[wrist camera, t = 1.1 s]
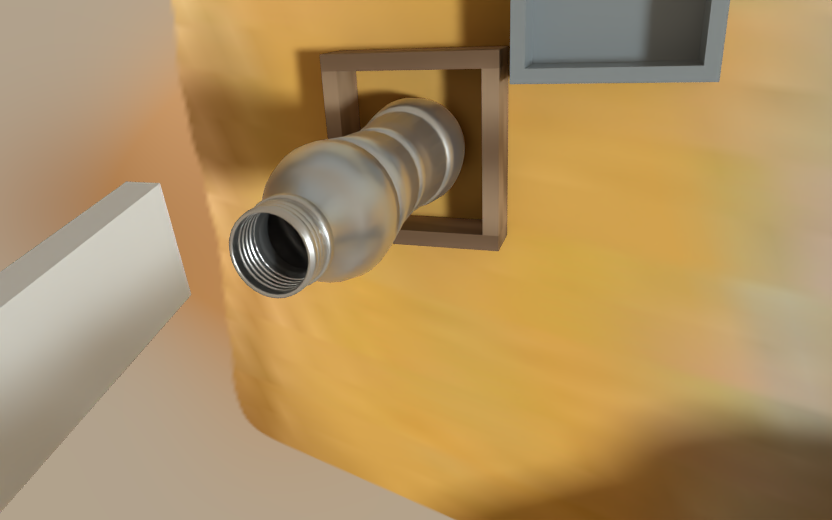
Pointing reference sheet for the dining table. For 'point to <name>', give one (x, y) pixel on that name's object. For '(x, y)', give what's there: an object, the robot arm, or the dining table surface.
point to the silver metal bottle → (346, 198)
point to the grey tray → (616, 41)
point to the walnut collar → (494, 72)
